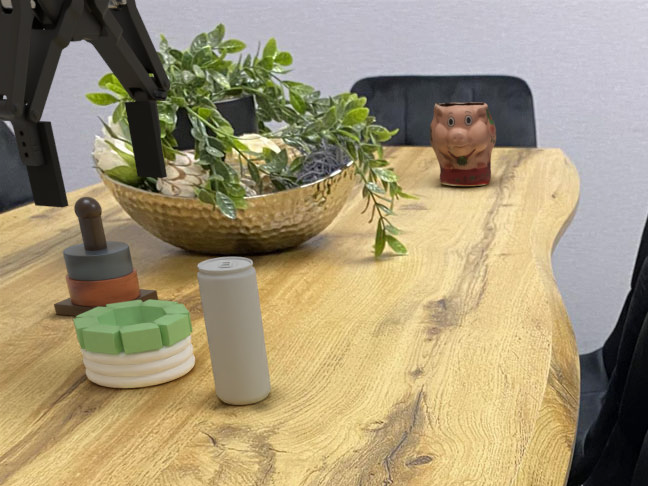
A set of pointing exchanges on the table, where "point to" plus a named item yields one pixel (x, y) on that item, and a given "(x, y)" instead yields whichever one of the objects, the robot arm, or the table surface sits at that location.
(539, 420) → the table surface
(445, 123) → the decorative planter
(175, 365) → the coaster
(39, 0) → the robot arm
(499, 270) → the table surface
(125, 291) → the stacking stand
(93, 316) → the green ring
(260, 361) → the beverage can
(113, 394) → the table surface
